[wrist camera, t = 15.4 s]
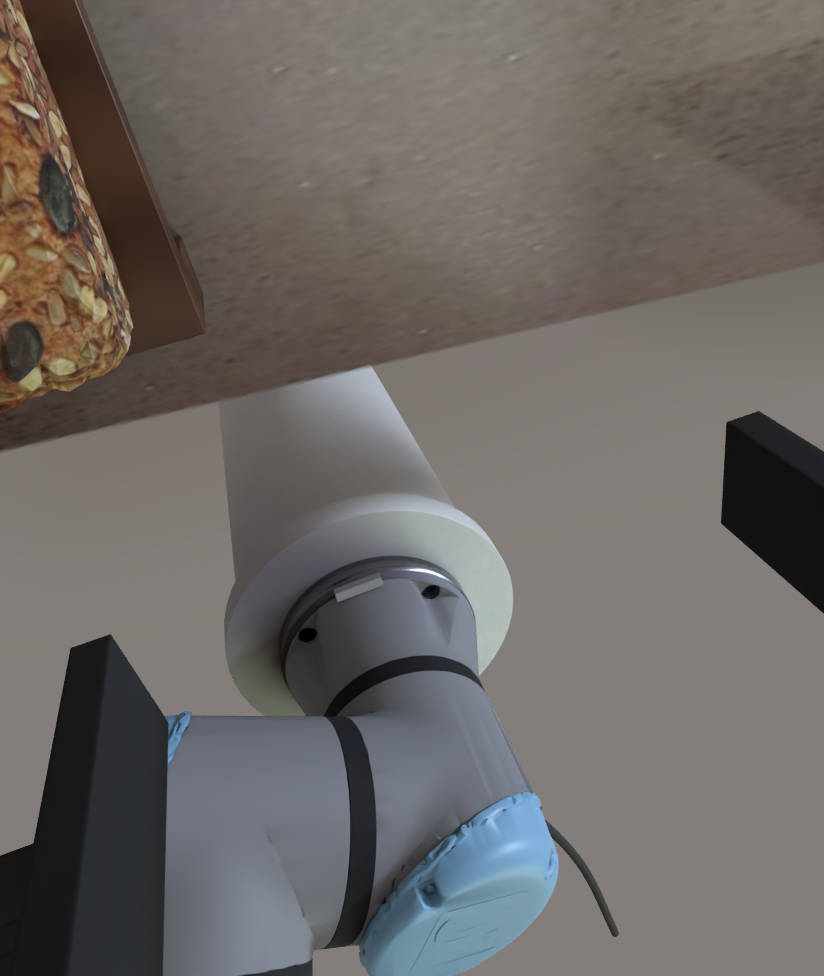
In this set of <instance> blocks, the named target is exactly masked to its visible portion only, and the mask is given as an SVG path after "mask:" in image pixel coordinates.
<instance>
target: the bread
mask: <svg viewBox="0 0 824 976" xmlns="http://www.w3.org/2000/svg"><path fill="white" fill-rule="evenodd" d="M132 329H133V324H132V320H131V316H130V313H129V303H128V300H127V298H126V295H125V292H124V290H123V287H122V284H121V281H120V277H119V273H118V270H117V267H116V264H115V262H114V259H113V256H112V253H111V250H110V248H109V245H108V242H107V239H106V236H105V234H104V231H103V228H102V226H101V223H100V220H99V218H98V215H97V212H96V210H95V207H94V205H93V202H92V199H91V197H90V194H89V193H88V191H87V189H86V187H85V183H84V179H83V175H82V171H81V169H80V166H79V164H78V162H77V159H76V157H75V152H74V149H73V145H72V141H71V139H70V136H69V134H68V131H67V129H66V126H65V124H64V121H63V118H62V115H61V111H60V109H59V106H58V104H57V101H56V99H55V96H54V94H53V91H52V88H51V86H50V83H49V80H48V77H47V75H46V72H45V70H44V68H43V66H42V63H41V61H40V58H39V55H38V52H37V49H36V47H35V44H34V41H33V38H32V36H31V33H30V30H29V27H28V25H27V22H26V19H25V16H24V12H23V9H22V6H21V3H20V0H0V413H2V412H5V411H7V410H9V409H12V408H14V407H16V406H19V405H20V404H22V403H23V402H25V401H26V400H29V399H33V398H36V397H39V396H43V395H44V394H46V393H48V392H50V391H72V390H73V389H75V388H76V387H78V386H80V385H81V384H83V383H84V381H85V380H90V379H94V378H98V377H102V376H103V375H105V374H106V373H108V372H110V371H111V370H113V369H114V368H116V367H117V366H118V365H119V364H120V362H121V361H122V359H123V358H124V356H125V355H126V353H127V352H128V349H129V346H130V339H131V336H130V333H131V331H132Z"/></svg>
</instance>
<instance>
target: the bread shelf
mask: <svg viewBox="0 0 824 976" xmlns="http://www.w3.org/2000/svg"><path fill="white" fill-rule="evenodd" d="M20 3H21V6H22V9H23V12H24V16H25V19H26V22H27V25H28V27H29V30H30V33H31V36H32V38H33V41H34V44H35V47H36V49H37V52H38V55H39V58H40V61H41V63H42V66H43V68H44V70H45V72H46V75H47V77H48V80H49V83H50V86H51V88H52V91H53V94H54V96H55V99H56V101H57V104H58V106H59V109H60V111H61V115H62V118H63V121H64V124H65V126H66V129H67V131H68V134H69V136H70V139H71V141H72V145H73V149H74V152H75V157H76V159H77V162H78V164H79V166H80V169H81V171H82V175H83V179H84V183H85V187H86V189H87V191H88V193H89V194H90V197H91V199H92V202H93V205H94V207H95V210H96V212H97V215H98V218H99V220H100V223H101V226H102V228H103V231H104V234H105V236H106V239H107V242H108V245H109V248H110V250H111V253H112V256H113V259H114V262H115V264H116V267H117V270H118V273H119V277H120V281H121V284H122V287H123V290H124V292H125V295H126V298H127V300H128V303H129V313H130V316H131V320H132V324H133V329H132V331H131V333H130V336H131V339H130V346H129V349H128V352H127V353H126V355H125V356H129V355H132V354H135V353H139V352H142V351H146V350H149V349H152V348H156V347H159V346H163V345H166V344H170V343H173V342H176V341H180V340H183V339H187V338H190V337H194V336H197V335H200V334H204V333H205V332H206V331H205V316H204V303H203V293H202V290H201V288H200V285H199V282H198V280H197V277H196V275H195V272H194V269H193V267H192V264H191V261H190V259H189V256H188V254H187V251H186V248H185V246H184V243H183V240H182V238H181V237H177V238H173V235H172V233H171V230H170V228H169V225H168V222H167V220H166V217H165V215H164V212H163V210H162V207H161V204H160V202H159V199H158V197H157V194H156V191H155V189H154V186H153V184H152V181H151V179H150V176H149V173H148V171H147V168H146V166H145V163H144V160H143V158H142V155H141V153H140V150H139V148H138V145H137V142H136V140H135V137H134V135H133V132H132V130H131V127H130V124H129V122H128V119H127V117H126V114H125V111H124V109H123V106H122V104H121V101H120V99H119V96H118V93H117V91H116V88H115V86H114V83H113V80H112V78H111V75H110V73H109V70H108V68H107V65H106V62H105V60H104V57H103V55H102V52H101V49H100V47H99V44H98V42H97V39H96V37H95V34H94V31H93V29H92V26H91V24H90V21H89V18H88V16H87V13H86V11H85V8H84V6H83V3H82V0H20ZM125 356H124V357H125Z"/></svg>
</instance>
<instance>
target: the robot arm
mask: <svg viewBox="0 0 824 976" xmlns="http://www.w3.org/2000/svg"><path fill="white" fill-rule="evenodd" d="M725 443H726V444H725V460H724V479H723V498H722V516H721V523H722V525H724V526H725V527H726V528H727V529H728V530H729V531H730V532H732V533H733V534H734V535H735V536H736V537H737V538H738V539H740V540H741V541H742V542H743V543H744V544H745V545H746V546H748V547H749V548H750V549H751V550H752V551H753V552H754V553H755V554H757V555H758V556H759V557H760V558H761V559H762V560H763V561H765V562H766V563H767V564H768V565H769V566H770V567H771V568H772V569H774V570H775V571H776V572H777V573H778V574H779V575H781V576H782V577H783V578H784V579H785V580H786V581H787V582H788V583H790V584H791V585H792V586H793V587H794V588H795V589H796V590H798V591H799V592H800V593H801V594H802V595H803V596H804V597H805V598H807V599H808V600H809V601H810V602H811V603H812V604H813V605H815V606H816V607H817V608H818V609H819V610H820V611H821V612H823V613H824V452H823V451H822V450H820V449H818V448H817V447H815V446H813V445H812V444H811V443H809V442H807V441H806V440H804V439H803V438H801V437H799V436H798V435H796V434H795V433H793V432H791V431H790V430H788V429H786V428H785V427H783V426H782V425H780V424H779V423H777V422H776V421H774V420H772V419H771V418H769V417H768V416H766V415H764V414H763V413H761V412H760V411H758V412H755V413H752V414H749V415H746V416H743V417H740V418H737V419H735V420H732V421H729V422H727V424H726V442H725ZM279 656H280V662H281V669H282V674H283V678H284V680H285V683H286V685H287V687H288V689H289V690H290V692H291V693H292V695H293V696H294V698H295V699H296V701H297V702H298V704H299V705H300V707H301V708H302V710H303V711H304V713H305V714H306V716H285V717H271V716H191V714H192V712H187V711H186V712H182V713H181V714H180V715H175V716H164V715H163V714H162V712H161V710H160V709H159V707H158V706H157V704H156V703H155V701H154V700H153V698H152V697H151V695H150V694H149V692H148V691H147V689H146V688H145V686H144V684H143V683H142V681H141V680H140V678H139V677H138V675H137V674H136V672H135V671H134V669H133V668H132V666H131V665H130V663H129V662H128V660H127V658H126V657H125V655H124V654H123V652H122V651H121V649H120V648H119V646H118V645H117V643H116V642H115V640H114V639H113V637H112V636H111V635H107V636H104V637H101V638H98V639H96V640H93V641H90V642H87V643H84V644H81V645H78V646H75V647H72V648H71V649H70V654H69V660H68V665H67V670H66V675H65V681H64V686H63V691H62V697H61V702H60V707H59V712H58V718H57V723H56V728H55V733H54V739H53V744H52V749H51V755H50V760H49V765H48V770H47V776H46V781H45V786H44V791H43V797H42V802H41V807H40V812H39V817H38V823H37V828H36V833H35V838H34V843H33V844H31V845H28V846H25V847H23V848H20V849H17V850H15V851H12V852H9V853H7V854H4V855H1V856H0V976H312V955H313V951H314V950H318V949H328V948H336V947H345V946H351V945H352V946H353V945H359V946H360V947H359V948H360V953H359V956H360V961H361V963H362V965H363V966H364V967H365V968H366V970H367V972H368V974H369V976H456V975H458V974H460V973H462V972H464V971H467V970H468V969H470V968H472V967H474V966H476V965H478V964H479V963H481V962H483V961H485V960H486V959H488V958H489V957H491V956H492V955H494V954H495V953H497V952H498V951H499V950H501V949H502V948H503V947H505V946H507V945H508V944H509V943H510V942H511V941H513V940H514V939H515V938H517V937H518V936H519V935H520V934H521V933H522V932H523V931H524V930H525V929H526V928H527V927H528V926H529V925H530V924H531V923H532V922H533V921H534V920H535V918H536V917H537V916H538V915H539V914H540V912H541V911H542V910H543V908H544V907H545V905H546V903H547V902H548V900H549V898H550V896H551V895H552V893H553V890H554V888H555V884H556V881H557V876H558V856H557V851H556V848H555V845H554V843H553V840H552V838H553V839H554V840H555V841H556V842H557V843H558V844H559V845H560V846H561V847H562V848H563V849H564V851H565V852H566V853H567V854H568V855H569V856H570V858H571V859H572V860H573V861H574V863H575V864H576V865H577V867H578V868H579V870H580V871H581V872H582V874H583V876H584V878H585V879H586V881H587V883H588V885H589V887H590V888H591V890H592V892H593V894H594V896H595V899H596V901H597V903H598V905H599V907H600V910H601V912H602V914H603V916H604V919H605V921H606V923H607V925H608V927H609V929H610V931H611V934H612V935H613V936H614V937H616V936H618V934H619V932H618V929H617V927H616V925H615V923H614V921H613V918H612V916H611V914H610V911H609V909H608V907H607V905H606V902H605V900H604V898H603V895H602V893H601V891H600V889H599V887H598V885H597V883H596V881H595V879H594V877H593V875H592V874H591V872H590V870H589V869H588V867H587V865H586V864H585V862H584V861H583V859H582V858H581V857H580V855H579V854H578V853H577V852H576V850H575V849H574V848H573V847H572V846H571V844H570V843H569V842H568V841H567V840H566V839H565V838H564V837H563V836H562V835H561V834H560V833H559V832H558V831H557V830H556V829H555V828H554V827H553V826H552V825H551V824H550V823H548V822H547V821H546V820H545V819H544V817H543V814H542V808H541V803H540V800H539V798H538V797H537V796H536V794H534V792H533V790H532V788H531V786H530V784H529V781H528V779H527V777H526V775H525V773H524V771H523V769H522V768H521V765H520V763H519V761H518V759H517V757H516V755H515V753H514V751H513V748H512V747H511V745H510V742H509V740H508V738H507V736H506V734H505V732H504V730H503V728H502V726H501V724H500V722H499V720H498V718H497V716H496V713H495V711H494V709H493V707H492V705H491V703H490V701H489V699H488V697H487V695H486V693H485V691H484V689H483V687H482V684H481V682H480V680H479V673H478V655H477V636H476V621H475V615H474V612H473V609H472V607H471V604H470V602H469V600H468V598H467V596H466V595H465V593H464V591H463V589H462V587H461V586H460V584H459V583H458V581H457V580H456V579H455V578H454V577H453V576H452V575H451V574H450V573H449V572H447V571H446V570H445V569H443V568H441V567H440V566H438V565H436V564H434V563H431V562H429V561H426V560H423V559H419V558H414V557H408V556H380V557H373V558H368V559H363V560H360V561H357V562H353V563H351V564H348V565H345V566H343V567H341V568H339V569H336V570H334V571H333V572H331V573H329V574H327V575H326V576H324V577H323V578H321V579H320V580H318V581H317V582H315V583H314V584H313V585H312V586H310V587H309V588H308V589H307V590H306V591H305V592H304V593H303V594H302V595H301V596H300V597H299V598H298V599H297V601H296V602H295V603H294V605H293V606H292V607H291V609H290V611H289V612H288V614H287V616H286V618H285V620H284V622H283V625H282V628H281V631H280V636H279ZM551 837H552V838H551Z"/></svg>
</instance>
